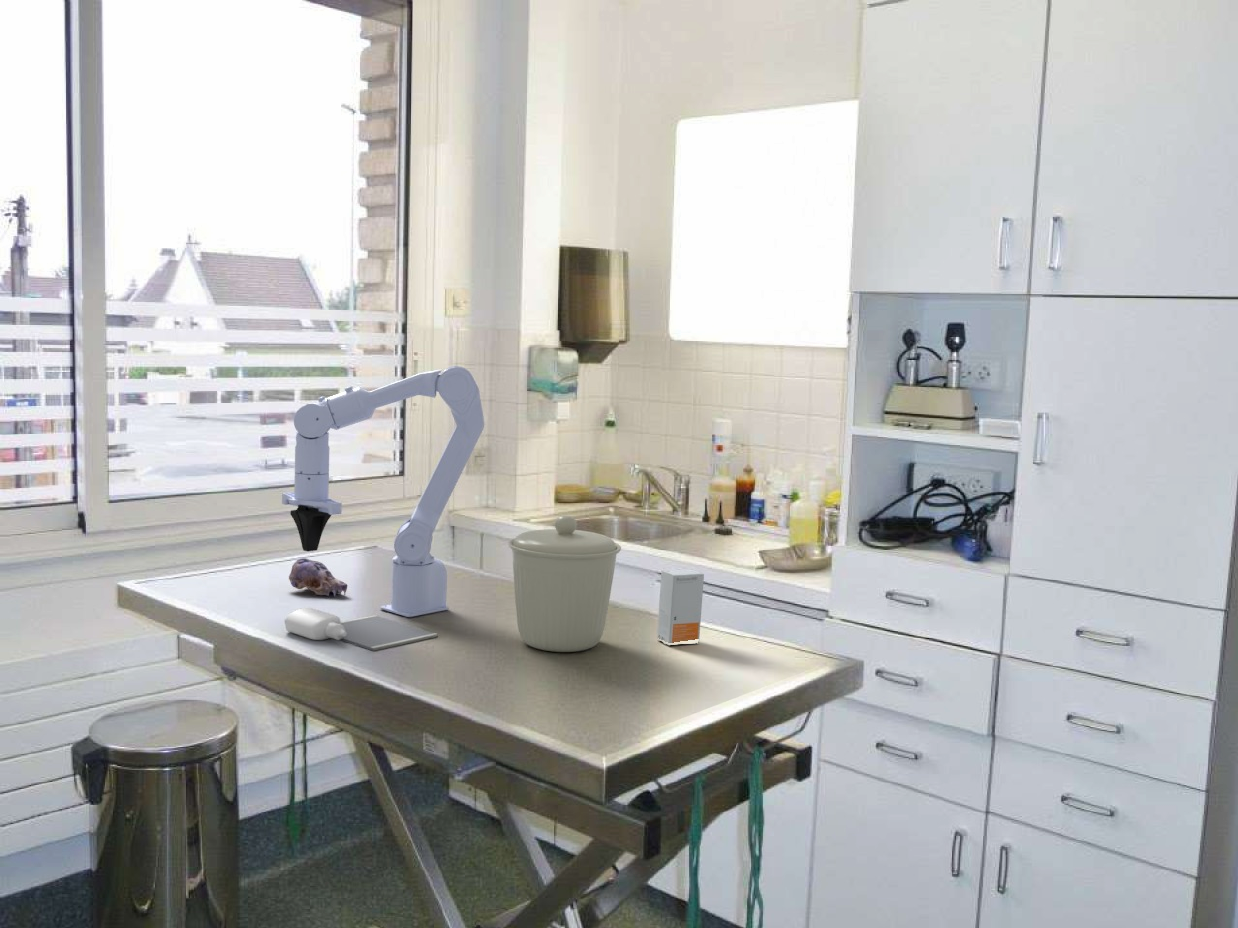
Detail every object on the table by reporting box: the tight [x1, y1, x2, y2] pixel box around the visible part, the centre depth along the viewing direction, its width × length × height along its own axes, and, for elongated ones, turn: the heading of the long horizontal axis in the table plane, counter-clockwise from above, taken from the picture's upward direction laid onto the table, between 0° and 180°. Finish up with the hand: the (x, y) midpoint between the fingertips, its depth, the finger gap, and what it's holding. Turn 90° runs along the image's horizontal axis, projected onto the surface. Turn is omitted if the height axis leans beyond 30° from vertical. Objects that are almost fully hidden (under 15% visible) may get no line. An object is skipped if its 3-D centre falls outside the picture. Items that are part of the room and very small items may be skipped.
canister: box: [507, 515, 622, 653], centre depth 178 cm, size 18×18×21 cm
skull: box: [288, 558, 348, 597], centre depth 206 cm, size 12×8×6 cm, turn 55°
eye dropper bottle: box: [284, 607, 347, 641], centre depth 176 cm, size 4×6×12 cm
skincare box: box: [656, 568, 705, 643], centre depth 184 cm, size 6×4×12 cm
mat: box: [339, 614, 438, 652], centre depth 180 cm, size 13×16×1 cm
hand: (310, 550), depth 193 cm, fingers closed
